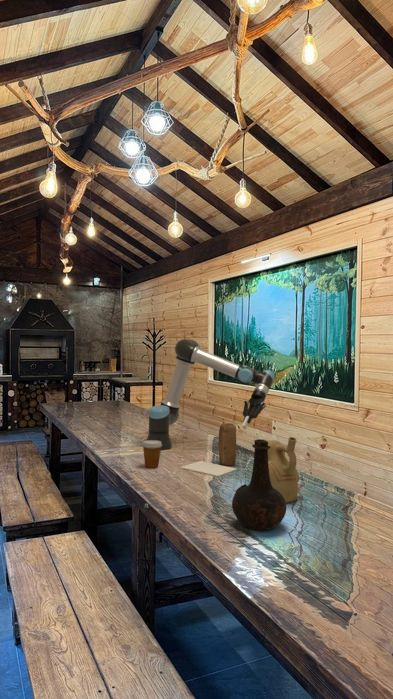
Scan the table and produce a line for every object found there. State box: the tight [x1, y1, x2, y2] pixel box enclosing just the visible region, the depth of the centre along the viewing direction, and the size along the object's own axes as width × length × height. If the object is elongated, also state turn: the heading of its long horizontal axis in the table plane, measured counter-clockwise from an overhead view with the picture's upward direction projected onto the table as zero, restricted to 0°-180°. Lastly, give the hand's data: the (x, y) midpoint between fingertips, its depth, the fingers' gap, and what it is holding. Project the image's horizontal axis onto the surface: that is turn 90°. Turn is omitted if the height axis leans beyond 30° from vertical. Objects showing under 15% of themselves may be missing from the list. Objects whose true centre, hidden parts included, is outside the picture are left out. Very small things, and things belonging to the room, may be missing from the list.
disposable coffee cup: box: [142, 439, 162, 469], centre depth 217 cm, size 10×10×12 cm
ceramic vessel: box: [268, 436, 300, 504], centre depth 176 cm, size 17×20×25 cm
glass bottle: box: [231, 439, 287, 531], centre depth 148 cm, size 18×18×28 cm
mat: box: [179, 460, 238, 478], centre depth 216 cm, size 22×16×1 cm
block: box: [218, 422, 237, 467], centre depth 226 cm, size 11×8×20 cm
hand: (243, 427), depth 239 cm, fingers closed
